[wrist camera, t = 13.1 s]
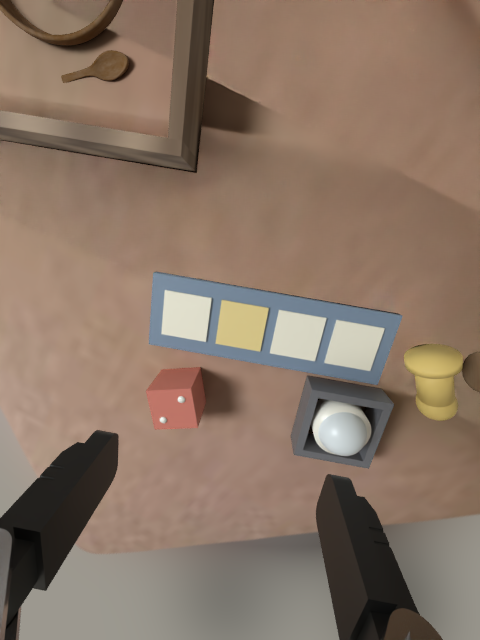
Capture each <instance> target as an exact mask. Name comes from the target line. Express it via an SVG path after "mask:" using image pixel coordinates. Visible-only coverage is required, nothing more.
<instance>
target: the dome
mask: <svg viewBox="0 0 480 640" xmlns="http://www.w3.org/2000/svg"><path fill="white" fill-rule="evenodd" d="M311 427H312V430H313V434H314V438H315V440H316V442H317V444H318V445H319V446H320V447H321V448H322V449H323V450H325V451H326V452H329V453H331V454H336V455H340V456H350V455H354V454H356V453H358V452H359V451H360V450H361V449H362V448H363V447H364V446H365V445H366V443H367V442H368V440H369V438H370V436H371V425H370V422H369V421H368V419H367V417H366V416H365V414H364V412H363V411H362V409H361V407H360V406H359V405H353V404H348V403H342V402H337V401H331V400H326V399H320V400H319V401H318V402H317V404H316V407H315V411H314V414H313V418H312V421H311Z"/></svg>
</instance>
